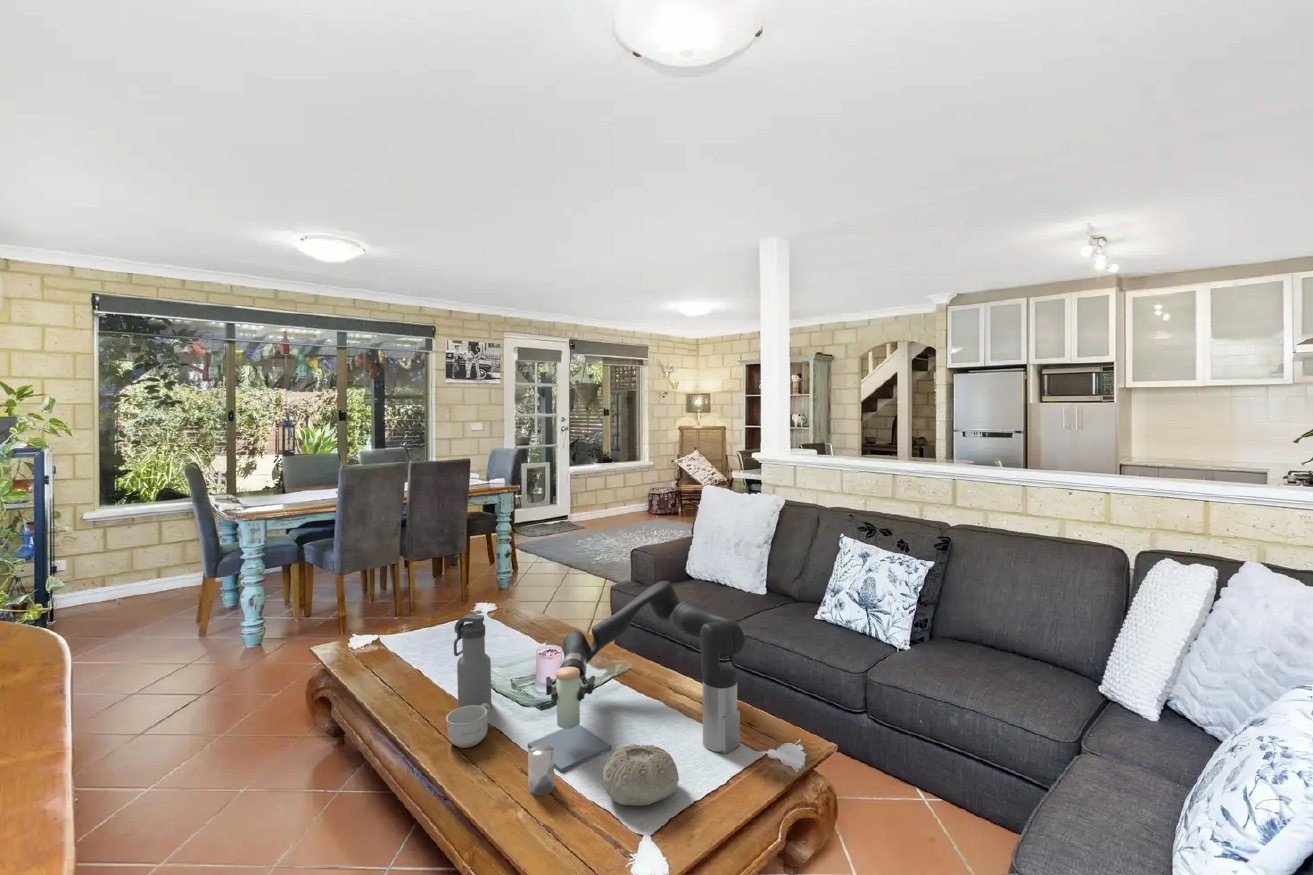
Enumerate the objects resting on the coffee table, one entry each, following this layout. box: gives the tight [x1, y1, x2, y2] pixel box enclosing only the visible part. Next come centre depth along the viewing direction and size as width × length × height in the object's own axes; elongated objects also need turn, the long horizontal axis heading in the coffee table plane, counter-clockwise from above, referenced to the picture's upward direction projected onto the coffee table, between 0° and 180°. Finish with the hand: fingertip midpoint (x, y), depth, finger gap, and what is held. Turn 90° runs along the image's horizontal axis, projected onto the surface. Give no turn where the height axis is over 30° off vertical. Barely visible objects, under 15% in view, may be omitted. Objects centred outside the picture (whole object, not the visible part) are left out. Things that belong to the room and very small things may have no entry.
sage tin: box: [555, 667, 581, 729], centre depth 167 cm, size 6×6×14 cm
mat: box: [527, 724, 612, 773], centre depth 168 cm, size 16×16×1 cm
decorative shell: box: [602, 743, 680, 807], centre depth 148 cm, size 18×18×10 cm
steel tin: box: [527, 745, 555, 797], centre depth 150 cm, size 6×6×9 cm
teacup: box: [445, 703, 491, 749], centre depth 172 cm, size 14×11×8 cm
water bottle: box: [453, 613, 492, 709], centre depth 190 cm, size 10×10×28 cm
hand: (567, 697), depth 165 cm, fingers closed on sage tin, 6 cm apart
